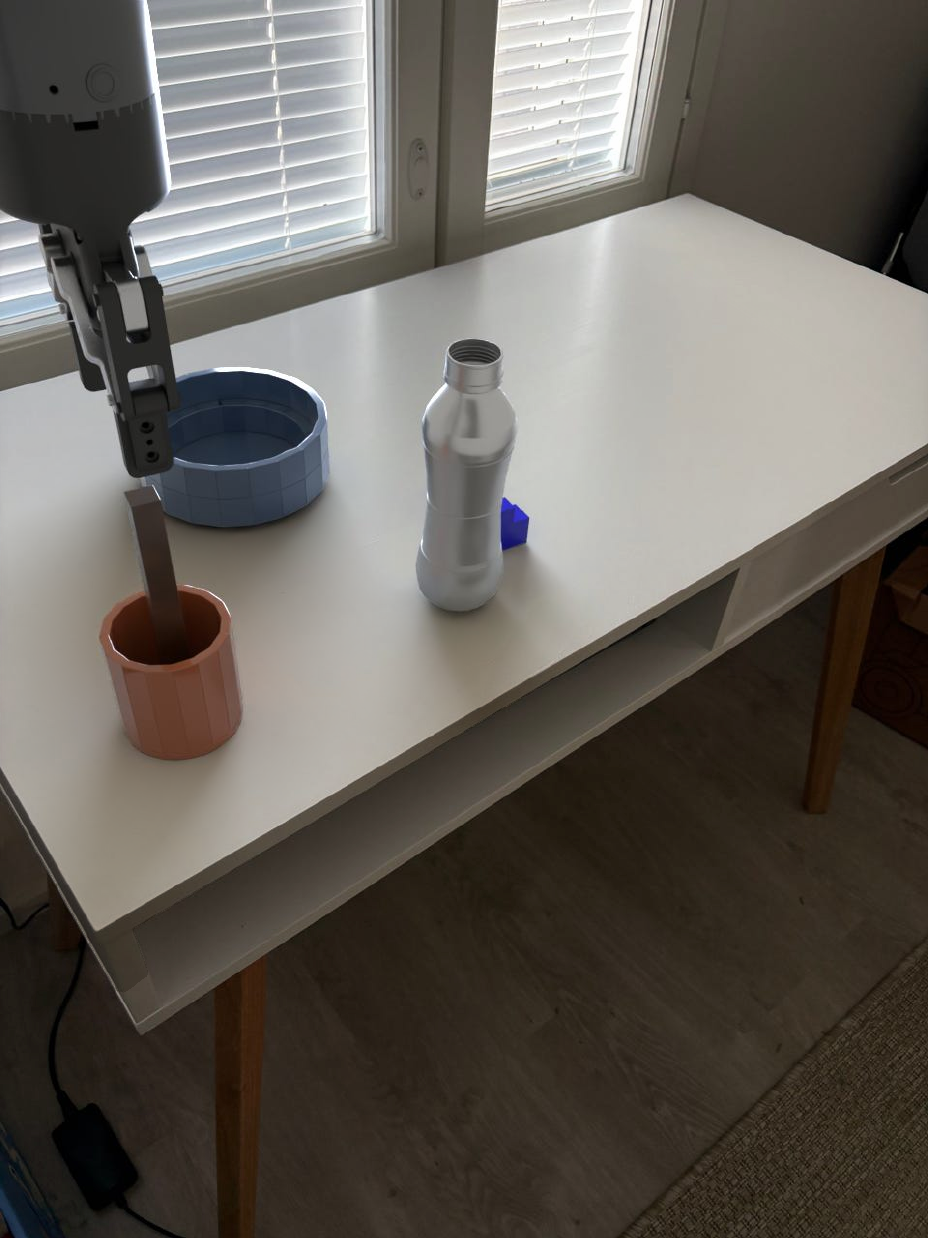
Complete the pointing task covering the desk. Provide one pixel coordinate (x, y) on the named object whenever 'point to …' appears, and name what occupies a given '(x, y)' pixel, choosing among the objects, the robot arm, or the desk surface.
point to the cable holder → (513, 525)
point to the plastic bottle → (466, 478)
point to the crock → (174, 677)
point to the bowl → (243, 448)
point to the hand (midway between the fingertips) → (126, 426)
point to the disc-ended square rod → (157, 573)
